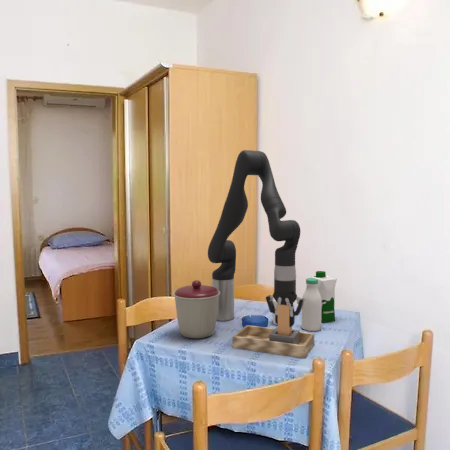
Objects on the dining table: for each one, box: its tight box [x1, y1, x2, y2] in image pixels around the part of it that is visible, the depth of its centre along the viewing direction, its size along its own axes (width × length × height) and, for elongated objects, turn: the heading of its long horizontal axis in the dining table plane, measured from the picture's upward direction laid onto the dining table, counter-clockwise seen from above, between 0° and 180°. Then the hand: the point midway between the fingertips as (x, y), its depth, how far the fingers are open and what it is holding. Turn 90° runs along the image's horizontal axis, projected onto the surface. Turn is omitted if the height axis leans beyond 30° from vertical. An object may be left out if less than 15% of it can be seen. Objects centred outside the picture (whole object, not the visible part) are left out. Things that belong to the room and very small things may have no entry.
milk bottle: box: [301, 277, 322, 332], centre depth 188 cm, size 8×8×20 cm
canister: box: [172, 279, 220, 339], centre depth 182 cm, size 18×18×21 cm
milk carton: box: [310, 270, 338, 324], centre depth 199 cm, size 9×9×20 cm
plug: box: [277, 304, 293, 336], centre depth 168 cm, size 4×4×12 cm
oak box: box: [232, 324, 315, 359], centre depth 170 cm, size 26×14×4 cm, turn 67°
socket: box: [269, 326, 301, 345], centre depth 168 cm, size 9×9×5 cm
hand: (284, 325), depth 168 cm, fingers closed on plug, 4 cm apart
